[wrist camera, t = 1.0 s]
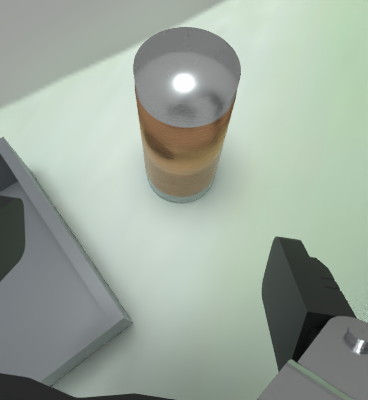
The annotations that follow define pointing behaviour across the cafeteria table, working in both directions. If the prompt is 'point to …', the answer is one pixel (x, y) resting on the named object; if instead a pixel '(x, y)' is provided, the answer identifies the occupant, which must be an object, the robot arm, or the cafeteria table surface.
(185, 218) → the cafeteria table surface
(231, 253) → the cafeteria table surface
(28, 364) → the gray tray
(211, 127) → the tin can
